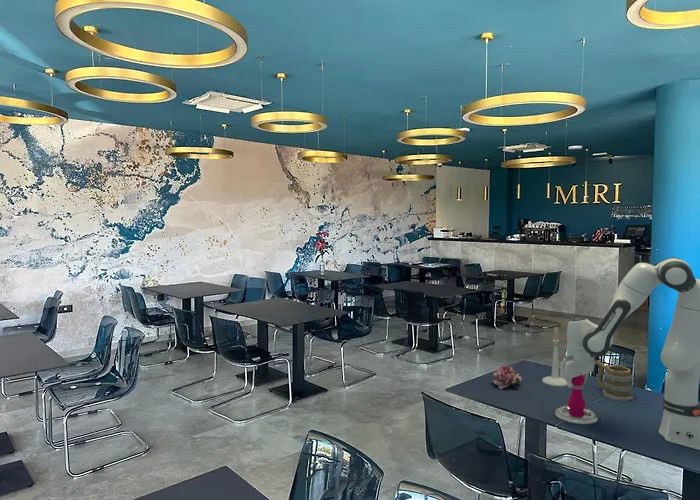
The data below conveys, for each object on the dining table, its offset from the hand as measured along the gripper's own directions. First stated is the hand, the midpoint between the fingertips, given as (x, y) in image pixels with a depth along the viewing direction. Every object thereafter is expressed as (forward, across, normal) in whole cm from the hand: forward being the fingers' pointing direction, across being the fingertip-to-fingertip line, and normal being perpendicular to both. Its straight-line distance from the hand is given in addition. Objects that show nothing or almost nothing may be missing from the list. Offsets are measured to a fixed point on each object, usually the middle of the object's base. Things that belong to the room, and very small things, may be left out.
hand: (576, 385), depth 214 cm
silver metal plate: (+14, 0, 0) cm, 14 cm away
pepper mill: (+13, 0, 0) cm, 13 cm away
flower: (+14, +6, +43) cm, 46 cm away
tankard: (+14, +40, +7) cm, 43 cm away
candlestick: (+14, +32, +33) cm, 48 cm away
